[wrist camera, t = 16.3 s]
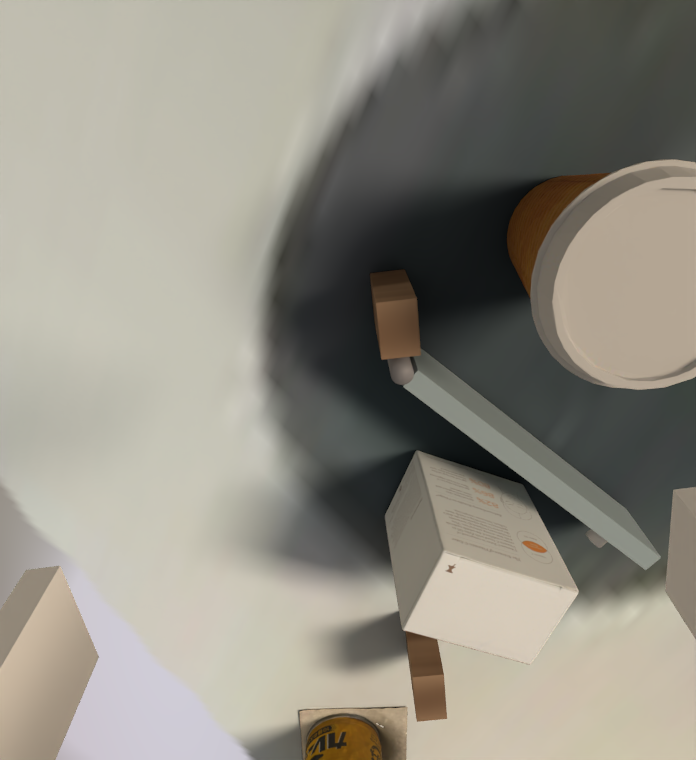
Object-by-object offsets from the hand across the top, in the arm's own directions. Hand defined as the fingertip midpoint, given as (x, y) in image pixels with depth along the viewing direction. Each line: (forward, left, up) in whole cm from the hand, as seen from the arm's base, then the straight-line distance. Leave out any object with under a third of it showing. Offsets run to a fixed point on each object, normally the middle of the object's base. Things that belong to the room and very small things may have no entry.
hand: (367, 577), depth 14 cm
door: (+11, +9, -25) cm, 29 cm away
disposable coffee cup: (-1, +12, -25) cm, 28 cm away
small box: (+16, +5, -25) cm, 30 cm away
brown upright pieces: (+14, +2, -25) cm, 29 cm away
